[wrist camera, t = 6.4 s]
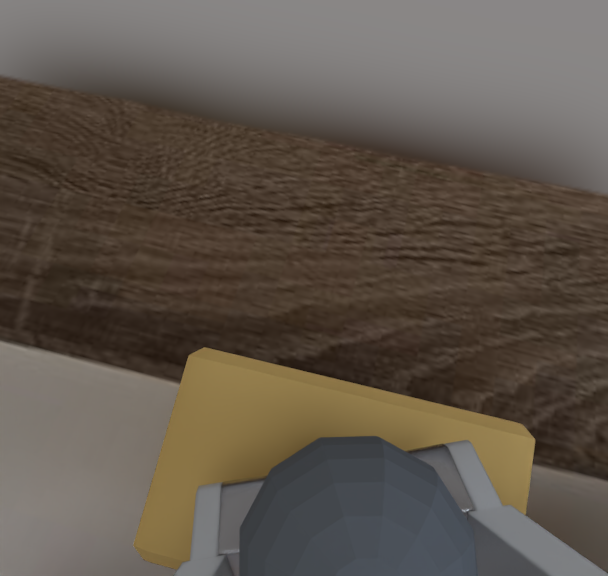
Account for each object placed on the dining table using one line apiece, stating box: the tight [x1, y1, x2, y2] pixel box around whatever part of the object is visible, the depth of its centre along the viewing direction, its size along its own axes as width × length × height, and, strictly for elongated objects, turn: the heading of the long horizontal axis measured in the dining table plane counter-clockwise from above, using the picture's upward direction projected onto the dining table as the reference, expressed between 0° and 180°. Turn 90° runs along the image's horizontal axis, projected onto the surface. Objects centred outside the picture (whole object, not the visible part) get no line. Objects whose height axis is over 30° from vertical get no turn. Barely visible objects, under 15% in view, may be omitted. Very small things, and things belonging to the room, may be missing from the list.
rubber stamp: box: [133, 347, 535, 576], centre depth 11 cm, size 10×6×12 cm, turn 76°
